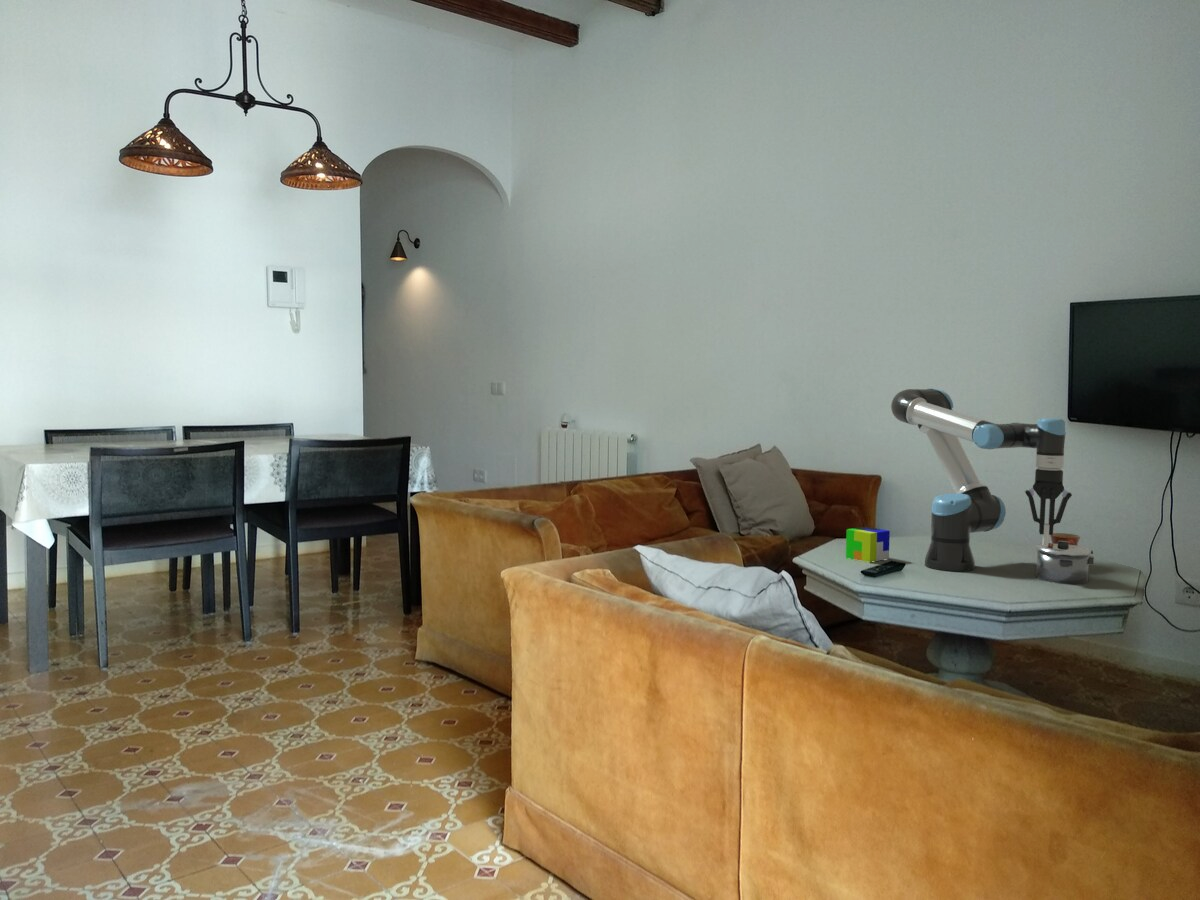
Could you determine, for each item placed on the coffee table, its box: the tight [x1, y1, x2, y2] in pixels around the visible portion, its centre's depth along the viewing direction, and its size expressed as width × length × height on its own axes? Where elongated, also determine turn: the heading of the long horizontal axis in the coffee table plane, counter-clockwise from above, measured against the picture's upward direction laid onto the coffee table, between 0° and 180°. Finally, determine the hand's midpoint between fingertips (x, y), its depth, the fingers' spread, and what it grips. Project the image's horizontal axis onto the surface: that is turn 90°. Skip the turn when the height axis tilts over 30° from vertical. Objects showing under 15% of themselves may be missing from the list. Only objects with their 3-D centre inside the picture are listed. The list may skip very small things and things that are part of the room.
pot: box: [1035, 550, 1095, 585], centre depth 265 cm, size 15×19×8 cm
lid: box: [1035, 541, 1094, 556], centre depth 265 cm, size 15×15×3 cm
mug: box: [1049, 532, 1081, 546], centre depth 281 cm, size 12×9×10 cm
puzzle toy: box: [845, 526, 891, 562], centre depth 295 cm, size 10×10×10 cm
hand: (1045, 545), depth 266 cm, fingers closed
